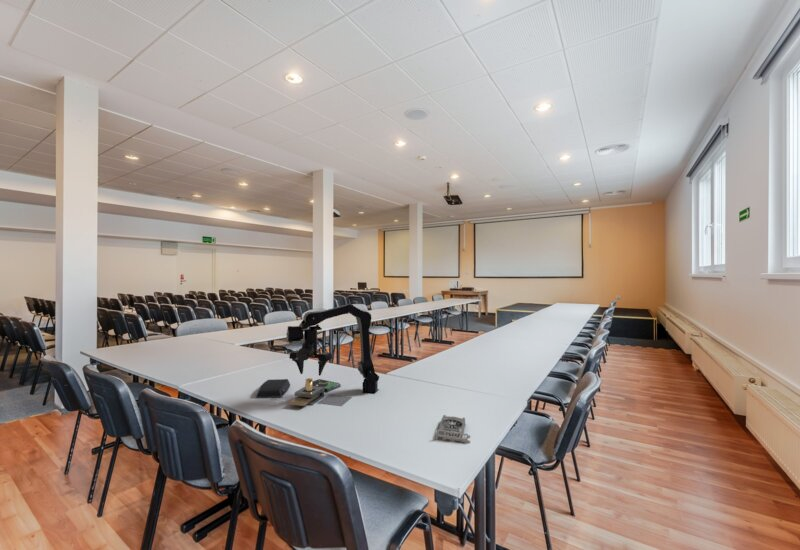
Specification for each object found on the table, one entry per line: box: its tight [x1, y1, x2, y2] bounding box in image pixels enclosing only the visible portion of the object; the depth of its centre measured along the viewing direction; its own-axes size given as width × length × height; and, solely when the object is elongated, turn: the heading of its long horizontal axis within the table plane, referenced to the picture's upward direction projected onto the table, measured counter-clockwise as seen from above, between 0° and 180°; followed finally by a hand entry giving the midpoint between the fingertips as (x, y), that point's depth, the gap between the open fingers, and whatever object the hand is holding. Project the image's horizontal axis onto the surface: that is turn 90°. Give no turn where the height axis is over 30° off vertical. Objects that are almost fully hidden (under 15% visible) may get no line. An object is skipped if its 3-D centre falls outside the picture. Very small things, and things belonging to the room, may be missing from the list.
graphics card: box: [435, 414, 471, 444], centre depth 125 cm, size 17×4×12 cm
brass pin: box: [305, 377, 314, 392], centre depth 155 cm, size 3×3×10 cm
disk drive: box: [304, 378, 342, 393], centre depth 174 cm, size 10×3×15 cm
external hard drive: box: [255, 378, 291, 399], centre depth 168 cm, size 13×19×4 cm
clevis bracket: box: [288, 385, 325, 407], centre depth 153 cm, size 16×9×5 cm, turn 164°
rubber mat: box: [316, 394, 353, 407], centre depth 155 cm, size 12×12×1 cm
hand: (310, 374), depth 155 cm, fingers open, 9 cm apart
